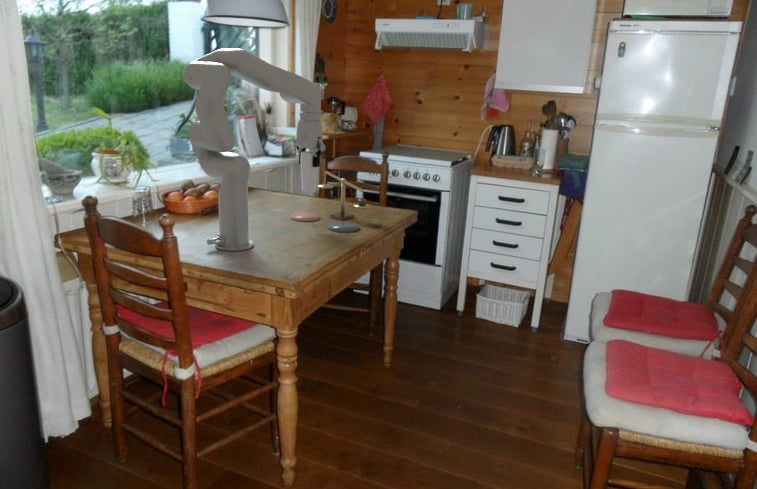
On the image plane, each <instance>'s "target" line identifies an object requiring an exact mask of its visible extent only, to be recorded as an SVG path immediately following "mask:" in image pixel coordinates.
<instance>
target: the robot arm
mask: <svg viewBox="0 0 757 489" xmlns="http://www.w3.org/2000/svg"><path fill="white" fill-rule="evenodd" d="M232 77H236V78H239V79H241V80H244V81H245V82H248V83H249V84H252V85H253V86H256V87H257V88H259V89H262V90H264V91H268V92H271V93H272V92H274V93H279V96H280V98H281V99H282V100H283V101H285V102H287V103H290V104H299V105H300V106H299V110H300V111H299V120H298V122H297V127H296V137H295V140H294V142H293V143H294V145H295V147H296V150H297V153H298V164H299V165H300V157H301V152H303V151H307V149H308V150H311V151H312V152H313V154H314V156H313V167H318V168H319V167H321V164H320V163H321V157H322V155H323V153H324V151H325V150H326V148H327V146H326V145H325V143H324V142H323V128H322V122H321V114H322V113H321V109H322V105H321V104H322V86H321V84H320V83H318V82H312V81H310V80H308V79H307V78H305V77H303V76H301V75H299V74H296V73H294V72H291V71H289V70H285V69H283V68H282V67H278V66H276V65H273V64H271V63H269V62H267V61H265V60H264V59H261V58H260V57H258V56H256V55H254V54H253V53H251V52H249V51H247V50H245V49H243V48H242V49H241V48H229V47H228V48H220V49H219V48H218V49H217V50H215V51H213V52H212V51H211V52H210V53H207V54H205V55H203V56H201V57H198V58H197V59H195V60H193V61H190V62H189V63H188V64H187V65H186V67H185V68H184V72H183V79H184V82H185V83H186V84H187V85H188V86H189V88H192V89H193V90H197V91H198V93H197V95H196V99H195V104H194V107H195V108H194V110H195V114H196V116H197V119H198V120H197V121H195V122H193V123H192V126H191V127H190V130H189V141H190V144H191V146H192V149H193V151H194V154H195V156H196V158H197V160H198V164H199V165H200V168H201V169H202V171H203V172H204V174H206V175H207V176H208V177H209V178H213V179H215V180H216V179H217V180H220V181H221V184H220V186H219V188H218V199H217V200H218V219H219V220H218V224H219V227H218V228H219V233H216V236H214V237H212V238H208V239H207V240H206V244H207V245H208V246H210V245H215V248H216V249H218V250H221V251H224V252H225V251H226V252H239V251H241V252H242V251H246V250H249V249H251V248H252V247H254V241H253V240H252V239H250V238H249V237H250V236H249V235H250V234H249V231H250V230H249V197H248V196H249V194H248V193H249V192H248V191H249V180H250V176H251V164H250V162H249V161H248V158H247V157H245V156H244V155H242V154H239V153H236V152H231V151H232V150H233V149H234V147H235V145H236V137H235V134H234V131H233V128H232V125H231V123H230V121H229V118H228V115H227V113H226V109H225V105H224V104H225V102H224V101H225V100H224V99H225V96H226V93H227V92H228V90H229V87H230V85H231V82H232Z"/></svg>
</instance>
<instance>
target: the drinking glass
mask: <svg viewBox="0 0 757 489" xmlns="http://www.w3.org/2000/svg"><path fill="white" fill-rule="evenodd" d="M313 156H314V154H313V150H311V151H310V150H306V151H303V152H301V157H300V164H299V165H300V178H301V180H300V181H301V192H304V193H307V194H312V193H315V192H316V190H317V181H318V180H317V178H318V170H319V167H313Z"/></svg>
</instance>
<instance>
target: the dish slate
mask: <svg viewBox="0 0 757 489" xmlns="http://www.w3.org/2000/svg"><path fill="white" fill-rule="evenodd" d="M327 229H328V230H330V231H332V232H335V233H354V232H357V231H358V230H359V225H358V224H356V223H354V222H348V221H334V222H330V223H328V224H327Z"/></svg>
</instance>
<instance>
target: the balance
mask: <svg viewBox="0 0 757 489" xmlns="http://www.w3.org/2000/svg"><path fill="white" fill-rule="evenodd" d="M326 175H328V176H330V177H332V178H334V179H336V180H338V181H340V208H339V209H340V210H339V212H337V213H331V214H330V218H331V219H335V220H339V221H343V220H347V219H348V220H349V219H352V218H355V214H353V213H350V212H345V211H346V185H347V186H350V187H351V188H353V189H355V190H357V191H359V192H361V198H359V199H358V200H357V202H358V203H354V204H352V207H353V208H355V209H361V210H364V209H365V210H367V209H370V208H371V204H369V203H367V199H366V198H364V189H363V188H361V187H359V186H357V185H355V184H353V183H351V182H349V181H347V179H346V178H344V177H339V176H337V175H335V174H333V173H332V172H330V171H328V170H324V183H319V184H316V188H318V189H326V190H330V189H333V188H334V185H333V184H330V183H329V184H328V183H326V180H327V179H326V178H327V176H326Z"/></svg>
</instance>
